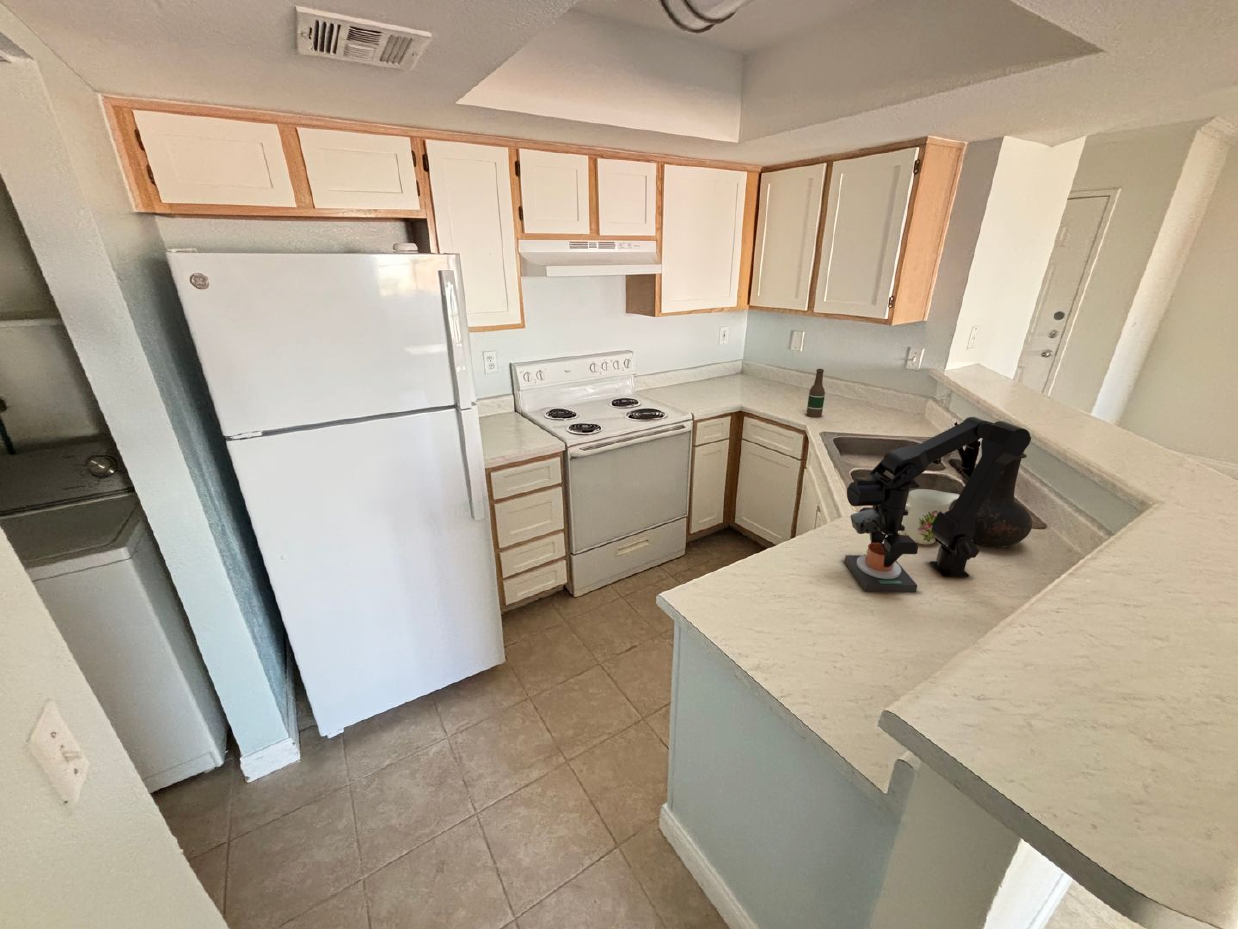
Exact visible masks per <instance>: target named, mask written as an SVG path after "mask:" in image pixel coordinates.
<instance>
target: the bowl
mask: <svg viewBox="0 0 1238 929" xmlns="http://www.w3.org/2000/svg"><path fill="white" fill-rule="evenodd" d="M865 555H866V557H865V562H866V564H867V565H868V566H869V567H871V568H873V569H875V570H878V571H889V570H891V569H892V568H893V567H894V563H895V562H894V563H893V564H892V565H891V566H890V567H884V555H885V549H884V548H883V547H882V546H881V544H880V543H871V542H870V543H869V544H868V545H867V547H866V552H865Z"/></svg>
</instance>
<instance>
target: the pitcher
mask: <svg viewBox="0 0 1238 929" xmlns="http://www.w3.org/2000/svg"><path fill="white" fill-rule="evenodd" d="M959 496H960V494H959V493H955V492H945V491H940V490H936V489H926V488H915V489H912V490H909V493H908V502H906V507H905V509H906V510H907V511H908V516H903V520H902V525H903V526H904V527H905V530H904V531H901V532H902V533H905V535H909V536H910V537H911V539H912V540H913V541H914V542H915V543H916V544H918V545H932V544H933V543H936V541H935V538H934V536H933V534H932V532H931V529H932V525H931V524H932V523H933V522H934V520H935V519H936V516H937V514H938V513H939V512H943V513H945V512H947V511H949V510H950V509H949V508H950V506H951V505H952V503H954V502H956V501H957V499H958V497H959Z"/></svg>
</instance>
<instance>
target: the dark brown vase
mask: <svg viewBox="0 0 1238 929" xmlns="http://www.w3.org/2000/svg"><path fill="white" fill-rule="evenodd" d="M1025 451H1026V449H1025V450H1024V452H1023V453H1022V454H1021V455H1020V457H1018V458H1017V459H1015V460H1013V461H1011V462H1010V463H1008V464H1006V465H1005V467H1004V469H1003V470H1002V472H1001V474H1000V475H999V477H998V479H997V481H996V482H995V484H994V486H993V487H992V489H991V491H990V492H989V494H988V496H987V498H986V499H985V501H984V503H983V504H982V506H981V508H980V510H979V511H978V513H977V515H976V516H975V519H974V520H975V533H974V536H973V538H972V542H973V543H976V544H979V545H981V546H984V547H985V546H986V547H989V548H1007V547H1011V546H1013V545H1016V544H1018V543H1020V542H1022V541H1023V540H1025V539H1026V538H1027V537H1028V536H1029V534H1030V533H1031V531H1032V528H1033V519H1032V516H1031V515H1030V513H1029V512H1028V510H1027V509H1026V508H1025V507H1024V506H1022V504H1020V503H1019V502H1017V501H1016V500H1015V492H1016V491H1015V490H1016V483H1017V479H1018V474H1019V470H1020V467H1021V462H1022V459H1026V458H1027V457H1028V456H1027V454H1026V453H1025Z"/></svg>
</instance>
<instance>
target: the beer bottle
mask: <svg viewBox="0 0 1238 929" xmlns="http://www.w3.org/2000/svg"><path fill="white" fill-rule="evenodd" d="M815 371H816V373H815V378H814V382H813V385H812V386H811V387H810V389H809V392H808V398H807V399H808V400H807V405H806V416H807V417H809V418H816V419H817V418H822V415H823V409H824V403H825V396H826V395H825V394H826V391H825V388H824V385H823V381H824V372H825V370H824V368H817V369H816V370H815Z"/></svg>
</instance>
